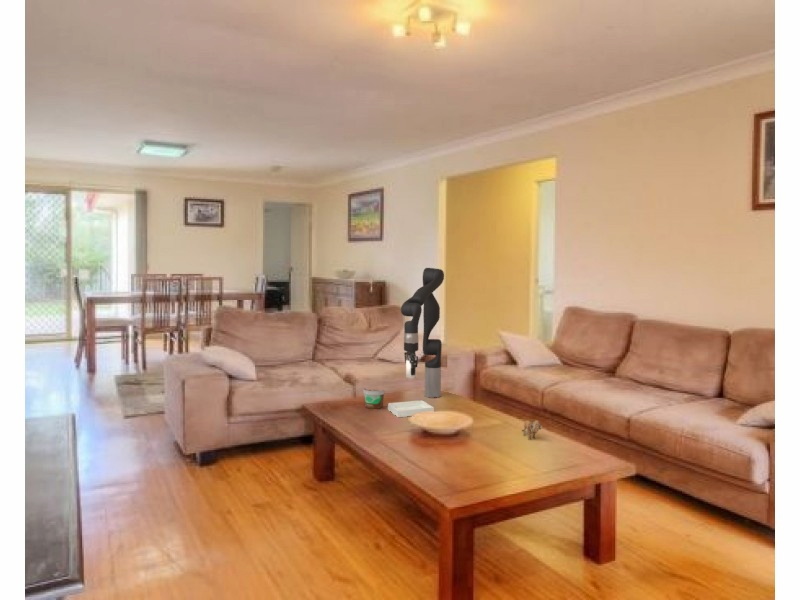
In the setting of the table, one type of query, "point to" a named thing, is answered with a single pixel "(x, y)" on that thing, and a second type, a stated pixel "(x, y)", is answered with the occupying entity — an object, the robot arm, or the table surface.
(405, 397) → the table surface
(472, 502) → the table surface
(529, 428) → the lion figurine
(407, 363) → the cup
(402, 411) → the tray
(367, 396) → the food container
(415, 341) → the robot arm
